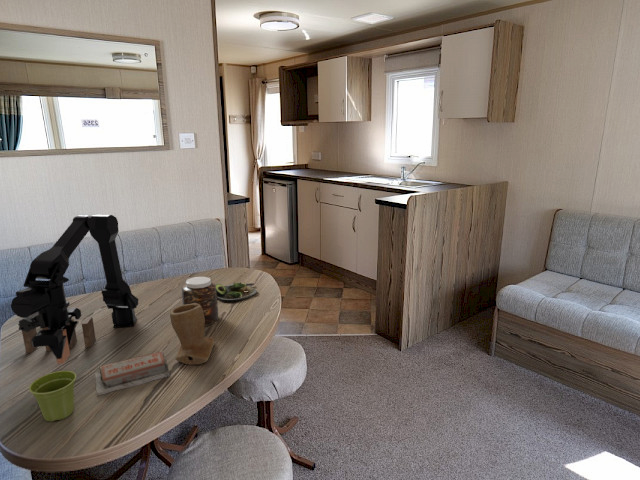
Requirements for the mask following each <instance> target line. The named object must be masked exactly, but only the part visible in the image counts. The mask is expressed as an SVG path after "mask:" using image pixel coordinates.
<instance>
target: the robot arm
mask: <svg viewBox="0 0 640 480" xmlns="http://www.w3.org/2000/svg"><path fill="white" fill-rule="evenodd" d="M119 232H120V231H119V221H118V219H117V217H116V216H115V215H113V214H91V215H81V214H79V215H76V216H74V217H73V219H72V222H71V223H70V225H69V226H68V227H67V228H66V230H65V231H64V232H63V233H62V234H61V236H60V237H59V238H58V239H57V240H56V242H55V244H53V246H52V247H50V248H49V249H48V250H45V251H43V252H41V253H40V254H39V255H37V256H36V257H35V258H34V259H32V261H31V263H30V265H29V270H28V272H27V274H26V278H25V280H24V283H23V287H24V288H23V289H20V290H16V292H15V294H16V295H15V297H13V298H12V300H11V304H10V309H11V310H12V312H13V314H14V315H16V316H17V317H19V318H21V319H20V320H18V330H20V331H21V332H22V331H25V332H29V331H30V330H32V329H34V328H36V329H37V328H39V327H40V328H39V329H41V330H39V331H37V334H36V335H35V336H34V337H33V338H32V339H31V342H32V346H33V347H37V348H38V347H40V348H41V347H45V346H48V347H49V348H50V349H51V351H50V352H52V354H53V355H54V357H55V359H56V358H57V359H61V358H62V355H63V350H64V346H65V341H66V337H67V339H68V345H69V346H70V343H71V340H72V337H73V334H74V331H76V327H77V324H78V321H77V320H80V318H81V317H82V311H81V309H80V308H78V307H69V306H70V304H71V303H70V301H69V300H68V301H67V298H66V297H67V296H66V292H65V286H64V285H65V283H67V282H69V281H70V279H69V278H68V277H65V274H66V271H67V270H68V268H69V267H70V257H71V256H72V254H73V253H74V252H75V250H76V249H77V248H78V246H79V245H80V243H81V242H82V241H83V240H84V238H85V237H86V235H88V233H89V234H90V236H91V237H92V239H94V240H95V241H96V242H97V245H98V249H99V253H100V258H101V263H102V267H103V271H104V276H105V282H106V284H105V286H104V288H103V289H101V296H102V301H103V302H104V303H105V305H106V308H107V310H109V309H110V310H112V312H111V320H112V324H113V325H112V327H113V329H116V328H125V327H134V326H135V324H136V322H137V320H138V318H137V317H136V310H135V309H136V308H137V306H138V305H139V298H138V297H137V296H135V295H134V294H133V293H132V290H131V287H130V285H128V283H127V282H126V281H125V280H124V279H123V274H122V273H123V272H122V268H121V263H120V259H119V253H118V249H117V243H116V238H117V237H118V236H117V235H118V234H119ZM73 317H74V318H75V320H74V321H72V318H73ZM46 327H48V329H47V330H42V328H46ZM62 329H66V333H67V335H66V336H63V332H62ZM57 359H56V360H57Z"/></svg>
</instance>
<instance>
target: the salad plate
mask: <svg viewBox="0 0 640 480" xmlns="http://www.w3.org/2000/svg"><path fill="white" fill-rule="evenodd" d="M254 285H255V283H254V282H251V283H250V282H249V283H246V282H243V283H242V282H234V283H231V284H227V285H225V286H224V285H223V284H221V283H216V284H215V286H216V291H217V301H219V302H222V303H236V301H237V302H240V301H242V300H246V299H248V298H250V297H252V296H254V295H255V294H256V293H257V292H258V290H257V288H254V287H252V286H254ZM244 291H248V292H250V295H249V294H247V295H246V296H243V294H245V293H244ZM245 298H246V299H245Z"/></svg>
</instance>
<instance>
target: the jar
mask: <svg viewBox="0 0 640 480" xmlns="http://www.w3.org/2000/svg"><path fill="white" fill-rule="evenodd" d="M215 285H216V284H215V283H214V282H212V281H211V278H210V277H208V276H195V277H190V278H188V279H186V280H185V284H184V285H183V286H182V288H181V301H182V305H186V304H192V303H196V304H199V305H200V306H201V307H202V309H203V313H204V318H205V325H204V327H208V326H211V325H213V324H216V323H217V322H218V320H219V304H218V303H219V302H218V300H217V291H216V286H215ZM215 322H216V323H215Z"/></svg>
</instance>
